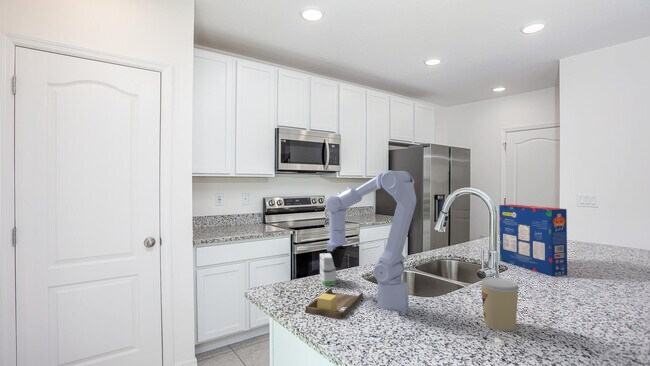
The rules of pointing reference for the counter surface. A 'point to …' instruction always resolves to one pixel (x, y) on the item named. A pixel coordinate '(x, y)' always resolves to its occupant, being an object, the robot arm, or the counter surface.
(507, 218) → the blue cardboard box
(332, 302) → the block
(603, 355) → the counter surface
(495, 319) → the coffee cup
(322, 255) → the ink box
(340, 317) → the wooden serving tray
